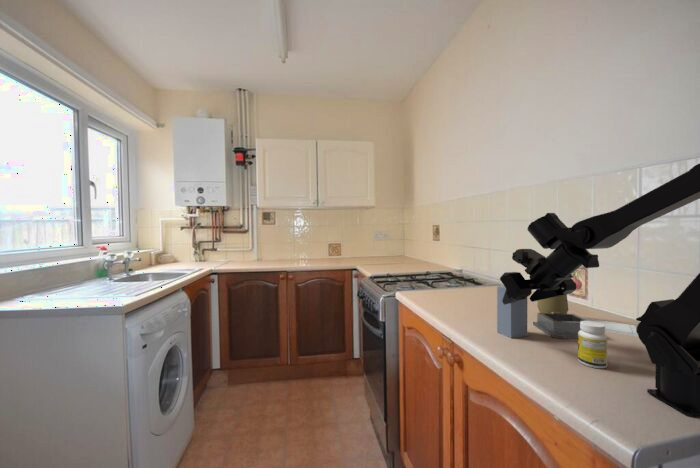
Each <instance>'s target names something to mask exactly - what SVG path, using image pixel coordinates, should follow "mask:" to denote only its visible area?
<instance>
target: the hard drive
mask: <svg viewBox="0 0 700 468" xmlns="http://www.w3.org/2000/svg"><path fill="white" fill-rule="evenodd" d="M583 318H584V319H586V320H588V321H593V322H598V323H601V324H603V325H605V333H607V332H608V333H614V334H620V335H625V336H631V337H637V338H639V336H638V333H637V332H636V328H637V326H636V325H633V324H628V323H622V322H620V323H619V322H615V321H606V320H600V319H593V318H586V317H583Z"/></svg>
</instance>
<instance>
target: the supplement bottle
mask: <svg viewBox="0 0 700 468" xmlns="http://www.w3.org/2000/svg"><path fill="white" fill-rule="evenodd" d="M580 329H581V330H580V331H579V332H578V339H577V358H578V359H577V361H578V362H579V363H580V364H581V365H584V366H587V367H590V368H592V369H593V368H595V369H606V368H607V367H608V336H607V335H606V331H605V325H603V324H601V323H598V322H593V321H581V322H580Z"/></svg>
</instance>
